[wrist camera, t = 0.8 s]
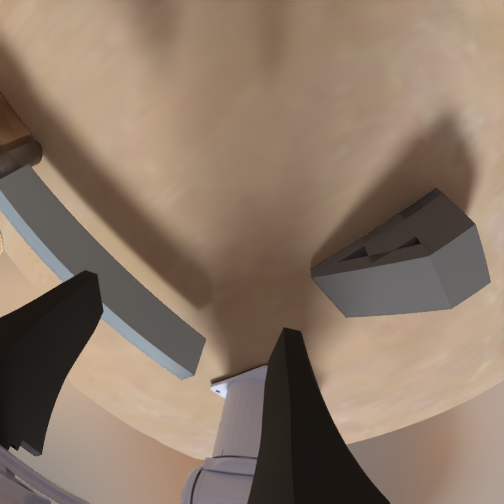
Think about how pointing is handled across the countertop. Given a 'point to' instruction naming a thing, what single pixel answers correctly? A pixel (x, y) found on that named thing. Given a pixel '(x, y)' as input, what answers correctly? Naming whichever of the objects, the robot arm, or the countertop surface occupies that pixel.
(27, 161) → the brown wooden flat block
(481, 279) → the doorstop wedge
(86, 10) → the countertop surface
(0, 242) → the beer glass
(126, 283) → the long pale blue beam
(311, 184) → the countertop surface
